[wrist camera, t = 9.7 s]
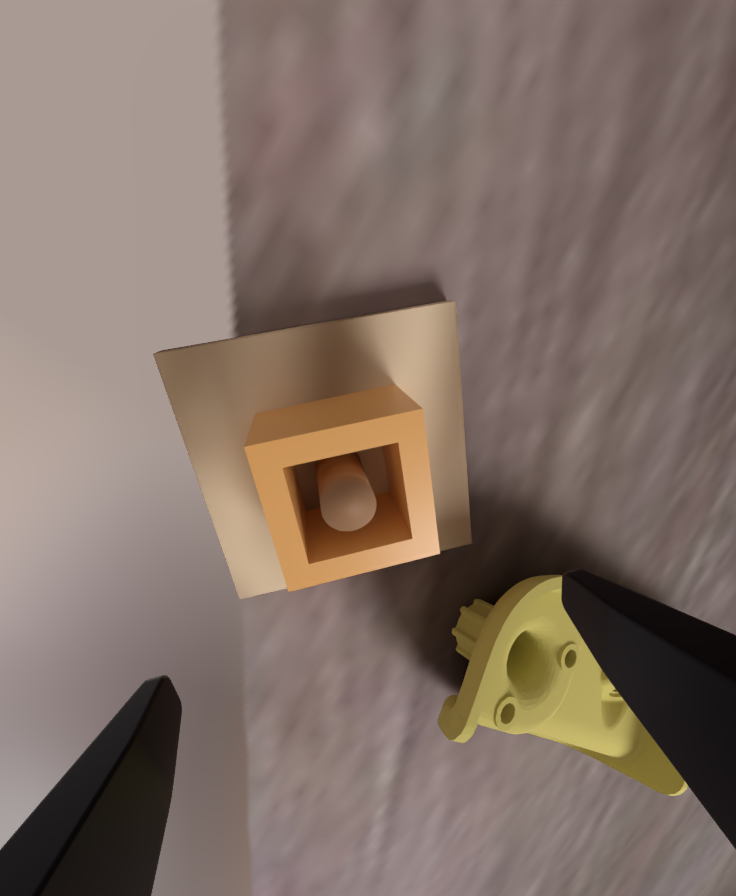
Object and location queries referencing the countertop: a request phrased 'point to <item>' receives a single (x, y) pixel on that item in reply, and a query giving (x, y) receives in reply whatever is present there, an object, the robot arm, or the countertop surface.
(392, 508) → the orange nut
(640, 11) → the countertop surface
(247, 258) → the countertop surface
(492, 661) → the plastic component
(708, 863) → the countertop surface
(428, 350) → the beige peg base
